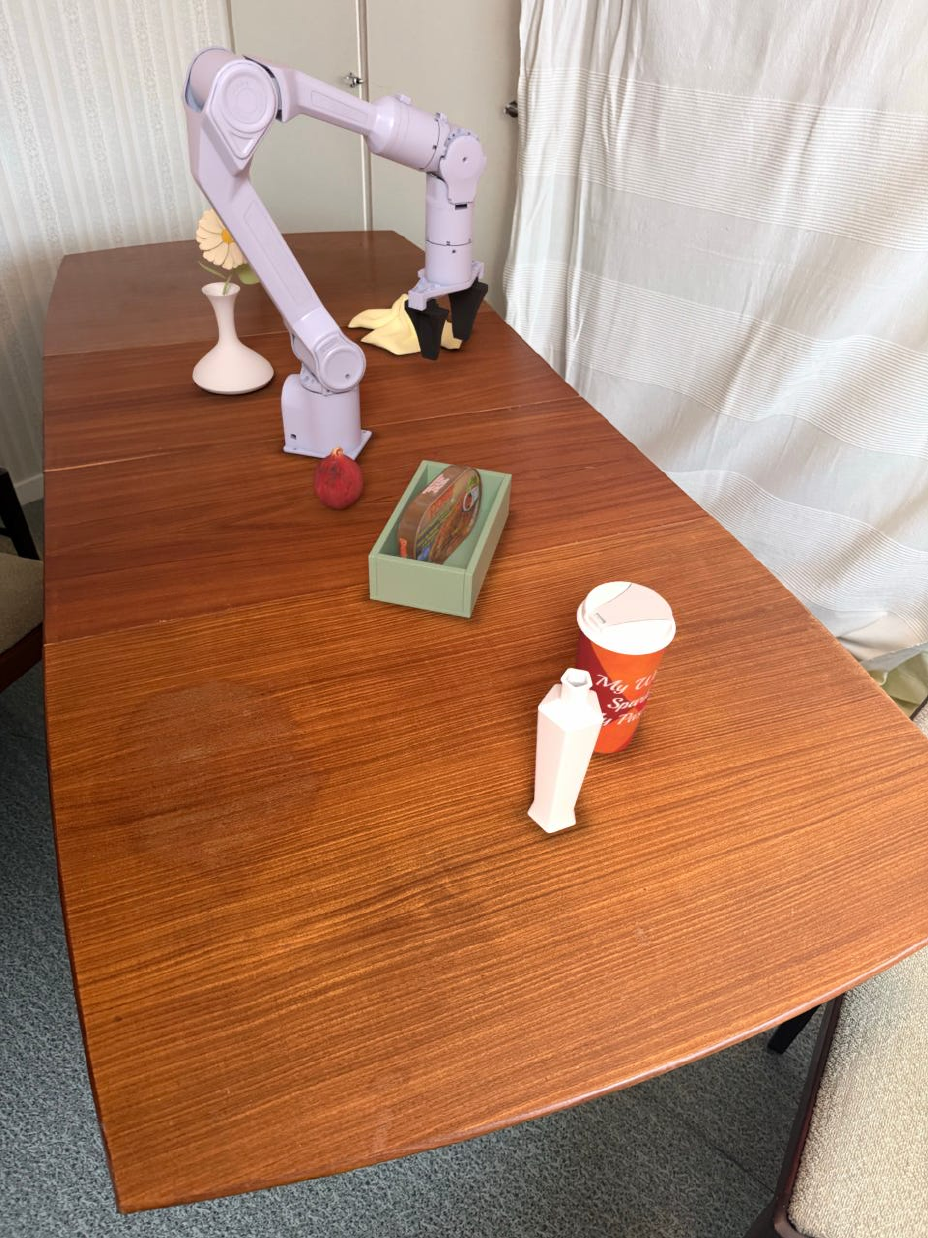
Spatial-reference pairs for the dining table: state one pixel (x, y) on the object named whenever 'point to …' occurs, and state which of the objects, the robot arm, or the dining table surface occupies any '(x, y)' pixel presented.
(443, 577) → the open rectangular box
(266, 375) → the flower in vase
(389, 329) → the cloth
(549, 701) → the white tall faceted bottle
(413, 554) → the tin
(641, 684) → the paper cup
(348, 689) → the dining table surface
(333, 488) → the pomegranate
